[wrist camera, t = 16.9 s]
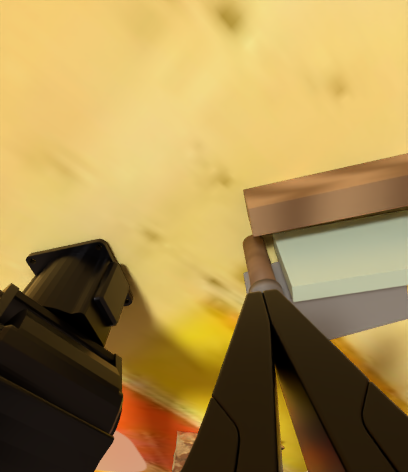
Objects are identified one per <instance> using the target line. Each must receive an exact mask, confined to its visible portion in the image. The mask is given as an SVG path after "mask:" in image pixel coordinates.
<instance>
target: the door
mask: <svg viewBox="0 0 408 472" xmlns="http://www.w3.org/2000/svg"><path fill="white" fill-rule="evenodd" d="M273 242H274V248H275V251H276V254H277V257H278V260H279V262H280V265H281V268H282V271H283V274H284V277H285V279H286V282H287V285H288V288H289V291H290V294H291V296H292V299H293V302H298V301H304V300H311V299H318V298H324V297H331V296H338V295H344V294H351V293H358V292H364V291H371V290H378V289H384V288H391V287H398V286H404V285H408V210H403V211H398V212H392V213H387V214H381V215H375V216H370V217H364V218H358V219H353V220H347V221H341V222H336V223H330V224H325V225H319V226H313V227H308V228H302V229H296V230H291V231H285V232H280V233H274V234H273Z"/></svg>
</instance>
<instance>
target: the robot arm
mask: <svg viewBox="0 0 408 472" xmlns="http://www.w3.org/2000/svg"><path fill="white" fill-rule="evenodd" d="M98 245H101V246H102V247H98ZM33 259H35V260H36V261H34V260H33ZM26 262H27V263H28V265H29V266H30V268H31V269H32V271H33V272H34V274H35V277H34V278H33V279H32V280H31V282H30V283H29V284H28V285H27V287H26V288H25V289H24V291H23V292H21V291H19V288H18V287H17V286H15V285H14V284H12V283H11V284H10V285H9V286H8V287H6V288H5V289H4V290H3V291H1V290H0V472H94V471H95V469H96V467H97V465H98V463H99V462H100V460H101V459H102V457H103V456H104V454H105V453H106V451H107V450H108V449H109V447H110V446H111V444H112V443H113V440H114V437H113V434H114V432H115V430H116V428H117V425H118V423H119V420H120V416H121V412H122V403H123V393H122V358H121V357H119V356H118V355H116V354H112V353H111V352H109V351H108V350H106V349H105V348H104V346H105V343H106V340H107V337H108V335H109V332H110V329H111V326H116V324H117V322H118V320H119V317H120V314H121V311H122V308H123V306H128V305H130V304H131V303H132V300H133V297H132V294H131V292H130V290H129V284H128V282H127V280H126V278H125V276H124V274H123V272H122V270H121V268H120V265H119V264H118V263H117V262H116V261H115V259H114V257H113V255H112V253H111V251H110V249H109V247H108V245H107V243H106V242H105V241H104V240H102V239H96V240H91V241H87V242H82V243H77V244H73V245H68V246H63V247H59V248H54V249H49V250H45V251H40V252H35V253H31V254H30V255H29V256H28V257H27V258H26ZM125 299H128V300H125ZM275 369H276V372H275ZM276 373H277V376H278V379H279V383H280V386H281V389H282V392H283V395H284V398H285V401H286V404H287V407H288V410H289V413H290V417H291V420H292V423H293V426H294V429H295V432H296V435H297V438H298V441H299V444H300V447H301V451H302V454H303V457H304V460H305V463H306V466H307V469H308V472H408V416H407V415H406V414H405V413H404V412H403V411H402V410H401V409H400V408H399V407H398V406H396V405H395V404H394V403H393V402H392V401H391V400H390V399H389V398H388V397H387V396H386V395H385V394H384V393H383V392H382V391H381V390H380V389H379V388H378V387H377V386H376V385H375V384H374V383H373V382H369V379H368V378H367V377H366V376H365V375H364V374H363V373H362V372H361V371H360V370H359V369H358V368H357V367H356V366H355V365H354V364H353V363H352V362H351V361H350V360H349V359H348V358H347V357H346V356H345V355H344V354H343V353H342V352H341V351H340V350H339V349H338V348H337V347H336V346H335V345H334V344H333V343H332V342H331V341H330V340H329V339H328V338H327V337H326V336H325V335H324V334H323V333H322V332H321V331H320V330H319V329H317V328H316V327H315V326H314V325H313V324H312V323H311V322H310V321H309V320H308V319H307V318H306V317H305V316H304V315H303V314H302V313H301V312H300V311H299V310H298V309H297V308H296V307H295V306H294V305H293V304H292V303H291V302H290V301H289V300H288V299H287V298H286V297H285V296H284V295H283V294H282V293H281V292H280V291H279V290H277V289H272V290H265V291H263V293H262V292H261V291H257V292H249V293H248V294H247V295H246V298H245V301H244V304H243V307H242V309H241V312H240V315H239V318H238V321H237V324H236V327H235V330H234V333H233V336H232V338H231V341H230V344H229V347H228V350H227V353H226V356H225V359H224V362H223V364H222V367H221V370H220V373H219V376H218V379H217V382H216V385H215V388H214V390H213V393H212V398H211V399H210V402H209V404H208V407H207V410H206V413H205V416H204V418H203V421H202V424H201V426H200V429H199V431H198V434H197V437H196V439H195V441H194V443H193V445H192V448H191V450H190V452H189V454H188V457H187V459H186V461H185V463H184V465H183V467H182V469H181V471H180V472H283V465H282V451H281V438H280V424H279V410H278V397H277V383H276Z"/></svg>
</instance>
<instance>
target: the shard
mask: <svg viewBox="0 0 408 472" xmlns="http://www.w3.org/2000/svg"><path fill="white" fill-rule="evenodd" d="M197 434H198V433H193V432H180V431H177V441H176V450H175V453H174V455H173V456H174V460H173V465H172V472H180V471H181V469H182V467H183V465H184V463H185V461H186V459H187V457H188V454H189V452H190V450H191V448H192V445H193V443H194V441H195V439H196V437H197ZM283 449H284V447H283V446H282V445H281V450H283Z"/></svg>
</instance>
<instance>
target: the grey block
mask: <svg viewBox="0 0 408 472" xmlns="http://www.w3.org/2000/svg"><path fill="white" fill-rule="evenodd" d="M271 266H272V269H273V273H274V276H275V279H276V281H277V282H278V283H279V284H280V285H281V287H282V290H283V293H284V296H285V297H286V298H287V299H288V300H289V301H290V302H291V303H292V304H293V305H294V306H295V307H296V308H297V309H298V310H299V311H300V312H301V313H302V314H303V315H304V316H305V317H306V318H307V319H308V320H309V321H310V322H311V323H312V324H313V325H314V326H315V327H316V328H317V329H319V330H320V331H321V332H322V333H323V334H324V335H325V336H326V337H327V338H328V339H329V340H331V339H335V338H338V337H342V336H346V335H350V334H353V333H357V332H361V331H364V330H368V329H372V328H376V327H379V326H383V325H387V324H390V323H394V322H398V321H402V320H405V319H408V294H407V286H406V285H404V286H398V287H391V288H384V289H378V290H371V291H364V292H358V293H351V294H344V295H338V296H331V297H324V298H318V299H311V300H304V301H298V302H293V299H292V296H291V294H290V291H289V288H288V285H287V282H286V279H285V277H284V274H283V271H282V268H281V265H280V262H279V261H278V262H275V263H272V264H271ZM243 274H244V279H245V285H246V291H247V294H248V293H249V289H250V287H251V285H250V280H249V275H248V272H245V273H243Z"/></svg>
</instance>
